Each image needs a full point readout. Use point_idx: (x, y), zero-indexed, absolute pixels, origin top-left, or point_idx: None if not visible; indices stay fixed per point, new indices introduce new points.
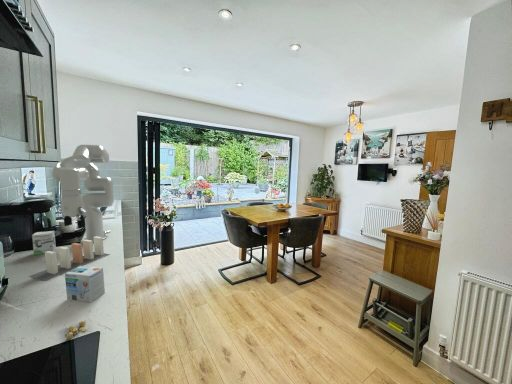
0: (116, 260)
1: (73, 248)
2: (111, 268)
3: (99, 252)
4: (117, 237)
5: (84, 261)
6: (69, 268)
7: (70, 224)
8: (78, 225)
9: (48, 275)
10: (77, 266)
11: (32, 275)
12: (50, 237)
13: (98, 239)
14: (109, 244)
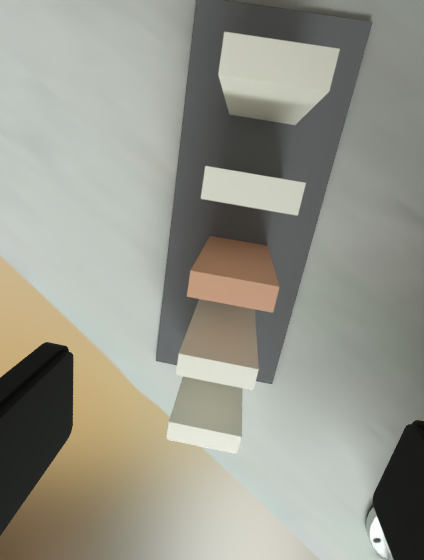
0: (71, 308)
1: (254, 269)
2: (11, 225)
3: None
4: (316, 546)
5: None
6: None
7: (382, 486)
8: (9, 373)
9: None
10: (193, 205)
11: (354, 41)
12: None
13: (186, 415)
14: (281, 470)
